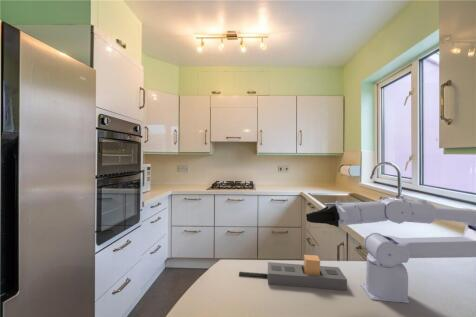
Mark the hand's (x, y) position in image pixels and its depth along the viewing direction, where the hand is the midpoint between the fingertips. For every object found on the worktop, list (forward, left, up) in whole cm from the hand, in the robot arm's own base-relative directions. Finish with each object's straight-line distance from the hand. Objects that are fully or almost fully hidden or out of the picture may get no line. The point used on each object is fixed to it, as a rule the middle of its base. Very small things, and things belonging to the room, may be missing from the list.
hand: (307, 218), depth 71 cm
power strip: (+4, -3, -20) cm, 20 cm away
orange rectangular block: (-2, -3, -20) cm, 20 cm away
